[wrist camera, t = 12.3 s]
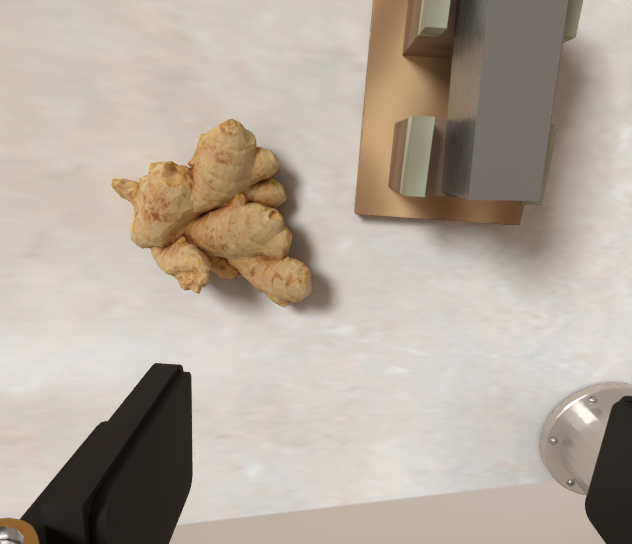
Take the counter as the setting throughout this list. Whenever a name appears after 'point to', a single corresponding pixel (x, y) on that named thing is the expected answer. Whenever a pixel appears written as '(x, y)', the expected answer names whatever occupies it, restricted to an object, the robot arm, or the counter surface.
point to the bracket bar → (501, 97)
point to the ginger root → (218, 217)
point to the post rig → (420, 116)
